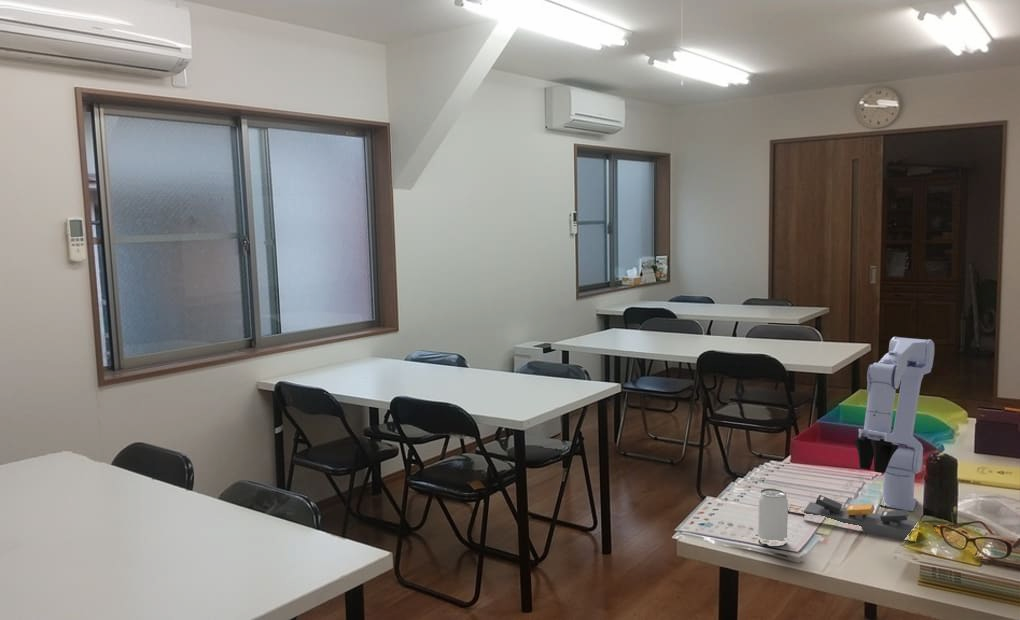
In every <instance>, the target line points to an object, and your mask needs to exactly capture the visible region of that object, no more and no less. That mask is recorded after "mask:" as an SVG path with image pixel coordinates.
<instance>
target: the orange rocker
mask: <svg viewBox="0 0 1020 620" xmlns="http://www.w3.org/2000/svg"><path fill="white" fill-rule="evenodd" d="M874 510H875V506H874V504H873V503H870V504H868V503H867V504H854V505H853V504H851V505H850V504H849V505H848V507H847V510H846V511H847V515H860V516H862V515H863V514H872V513H874Z"/></svg>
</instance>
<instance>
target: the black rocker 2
mask: <svg viewBox="0 0 1020 620" xmlns="http://www.w3.org/2000/svg"><path fill="white" fill-rule="evenodd" d="M880 515H881V516H880V518H881V521H893V522H897V521H904V520H909V511H908V510H888V511H887V510H885V511H883V510H882V511H881V513H880Z"/></svg>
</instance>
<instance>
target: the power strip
mask: <svg viewBox="0 0 1020 620" xmlns="http://www.w3.org/2000/svg"><path fill="white" fill-rule="evenodd" d="M815 503H816V502H813V501H809V502H808V504H807V506H806V507H805V508H804V510H803V511H804V513H806V514H813V515H821V516H825V517H827V518H831V519H834V520H837V521H840V522H843V523H848V524H853V525H859V526H861V527H862V529H863V531H864V532H863V533H865V532H866V533H865V534H870V535H871V534H872V535H875V536H880V537H881V536H882V537H885V538H891V539H895V540H896V539H897V540H899V541H900V540H901V541H905V540H904V539H905V538H906V537H907V535H908V534H909V533H910V532H911V530H912V529H913V528H914V526H915V525H916V523H917V522H918V521H917V520H911V519H907V520H904V521H897V522H893V521H881V518H880V516H881V514H877V513H874V512H873V513H872V514H863V515H862V516H860V515H847V511H846V510H847V508H848V507H847V508H845V507H841V510H840V511H839V513H836V512H834V511H832V510H828V509H824V507H822V506H820V505H818V504H815Z"/></svg>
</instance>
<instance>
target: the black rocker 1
mask: <svg viewBox="0 0 1020 620" xmlns="http://www.w3.org/2000/svg"><path fill="white" fill-rule="evenodd" d="M814 503H815V504H818V505H820V506H822V507H824V509H828V510H832V511H834V512H836V513H839V511H840V510H841V508H843V503H840V502H837V501H836V500H835V499H834V500H833V499H832V498H829V497H826V496H824V495H822V494H819V495H818V497H817V498H816V501H815V502H814Z"/></svg>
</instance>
